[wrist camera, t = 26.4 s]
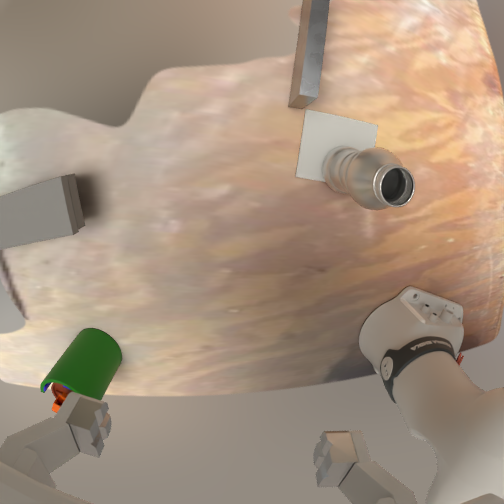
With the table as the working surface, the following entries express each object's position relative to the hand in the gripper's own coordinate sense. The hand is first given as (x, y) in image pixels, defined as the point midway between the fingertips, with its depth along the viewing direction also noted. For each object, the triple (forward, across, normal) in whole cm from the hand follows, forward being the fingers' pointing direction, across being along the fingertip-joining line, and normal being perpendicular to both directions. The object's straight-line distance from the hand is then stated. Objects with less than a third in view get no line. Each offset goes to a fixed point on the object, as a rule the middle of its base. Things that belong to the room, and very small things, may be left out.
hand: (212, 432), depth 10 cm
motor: (+39, +25, +30) cm, 55 cm away
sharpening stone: (+39, +35, +3) cm, 53 cm away
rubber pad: (+39, -12, -11) cm, 42 cm away
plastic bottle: (+39, -13, -8) cm, 42 cm away
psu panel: (+39, -5, -25) cm, 47 cm away
